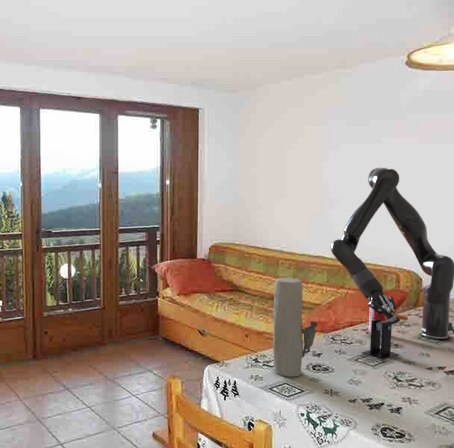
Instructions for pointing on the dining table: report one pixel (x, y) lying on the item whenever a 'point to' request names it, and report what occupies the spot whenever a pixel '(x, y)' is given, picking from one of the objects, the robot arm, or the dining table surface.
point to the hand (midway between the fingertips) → (396, 322)
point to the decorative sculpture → (289, 327)
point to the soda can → (373, 316)
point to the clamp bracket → (385, 341)
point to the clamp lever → (395, 317)
